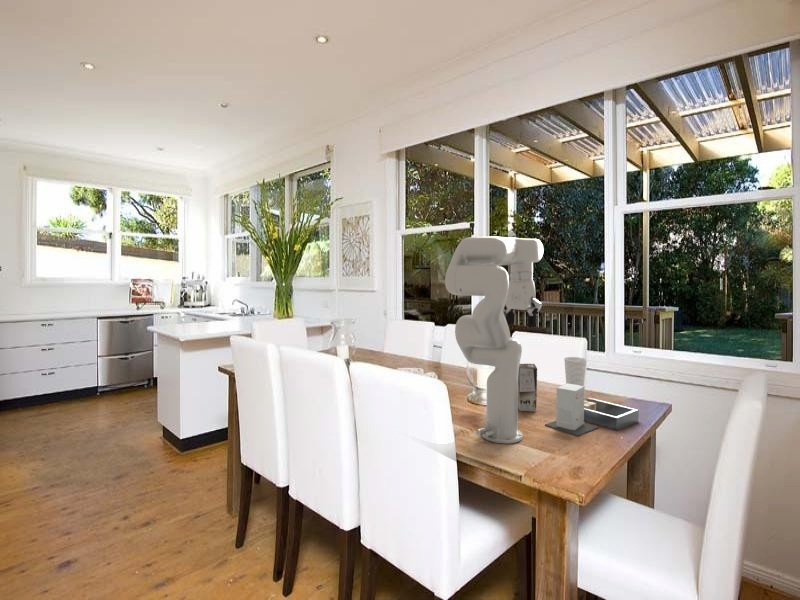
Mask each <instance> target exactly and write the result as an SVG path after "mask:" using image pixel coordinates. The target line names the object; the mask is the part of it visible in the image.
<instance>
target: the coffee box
mask: <svg viewBox="0 0 800 600" xmlns="http://www.w3.org/2000/svg"><path fill="white" fill-rule="evenodd" d="M537 385H538V368H537V366H536V364H535V363H520V365H519V374H518V411H522V412H535V413H536V412H537V401H538V400H537V396H538V395H537V393H538V391H537V390H538V386H537Z"/></svg>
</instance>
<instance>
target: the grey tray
mask: <svg viewBox="0 0 800 600" xmlns="http://www.w3.org/2000/svg"><path fill="white" fill-rule="evenodd" d="M586 401H588V402H593V403H596V411H593V410H589V409H586V408H584V422H586V423H587V422H588V423H591V424H593V425H597V426H598V425H599V426H602V427H606V428H609V429H612V430H614V431H617V430H620V429H623V428H625V427H628V426H631V425H633V424H635V423H637V422H639V414H640V413H639V412H640V411H639V409H636V408H632V407H629V406H624V405H622V404H621V405H620V404H617V403H613V402H609V401H605V400H600V399H596V398H592V397H586Z"/></svg>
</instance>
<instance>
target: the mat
mask: <svg viewBox="0 0 800 600" xmlns="http://www.w3.org/2000/svg"><path fill="white" fill-rule="evenodd" d="M544 426H545V427H548V428H551V429H554V430H557V431H559V432H563V433H566V434H569V435H572V436H576V437H579V436H582V435H584V434H587V433H589V432H592V431H594V430H597V429H599V428H600V427H599V426H598V425H597V426H596V425H595V424H589V423H587V422H584V424H583V425H582V426H580V427H579V428H578V429H576V430H570V429H566V428H562V427H557V426H556V420H554V421H550V422H548V423H546V424H544Z"/></svg>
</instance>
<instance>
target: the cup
mask: <svg viewBox="0 0 800 600" xmlns="http://www.w3.org/2000/svg"><path fill="white" fill-rule="evenodd" d="M586 368H587V358H584V357H578V356H568V357H564V371H565V372H564V373H565V384H566V383H568V384H574V385H580V386H584V387H585V385H584V384H585V377H586Z"/></svg>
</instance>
